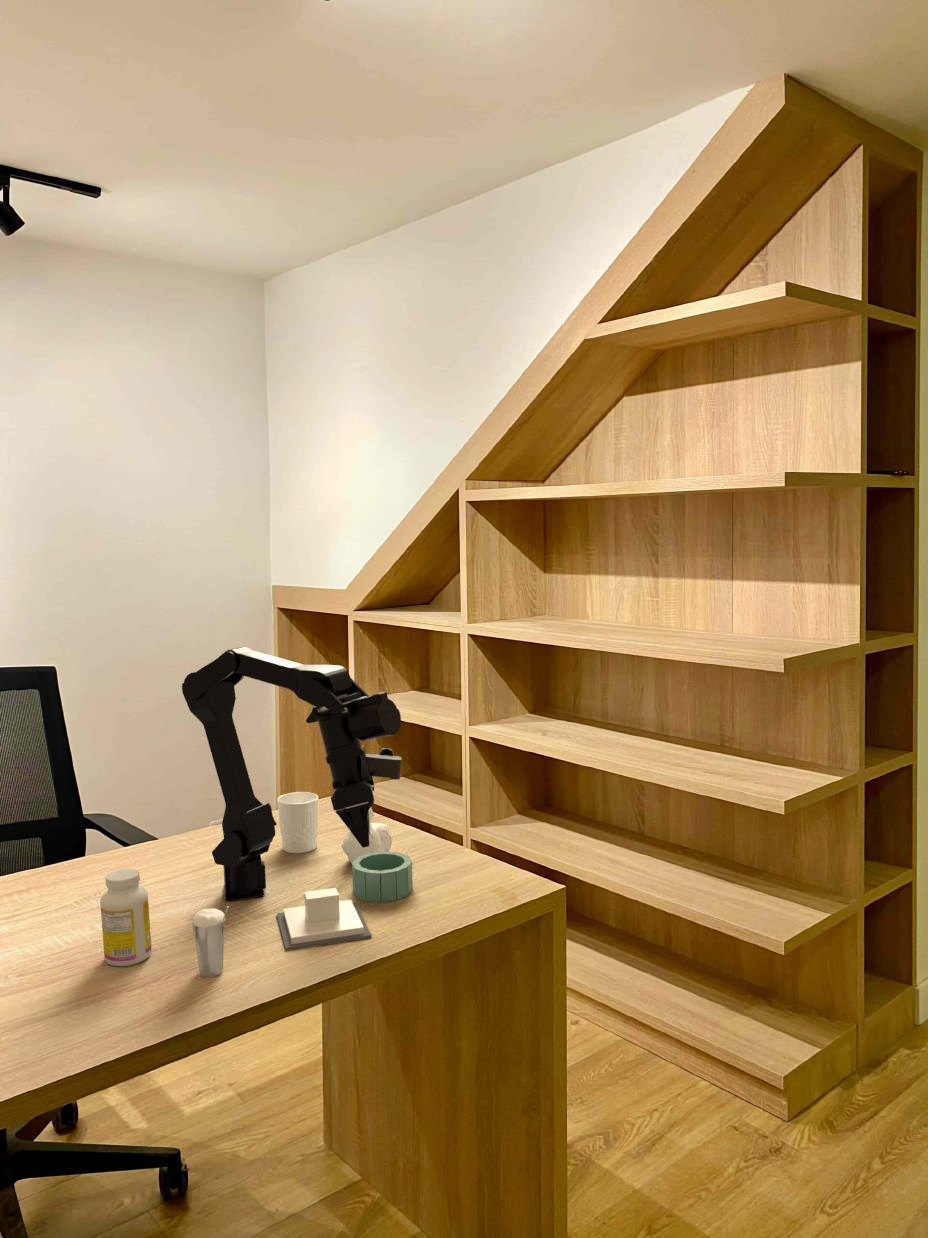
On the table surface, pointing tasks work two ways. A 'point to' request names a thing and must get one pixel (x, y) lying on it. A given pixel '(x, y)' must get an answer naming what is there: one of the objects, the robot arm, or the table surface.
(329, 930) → the lid
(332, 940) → the mat
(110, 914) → the supplement bottle
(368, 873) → the bowl
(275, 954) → the table surface
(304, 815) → the white cup
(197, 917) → the milkshake
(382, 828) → the bust
